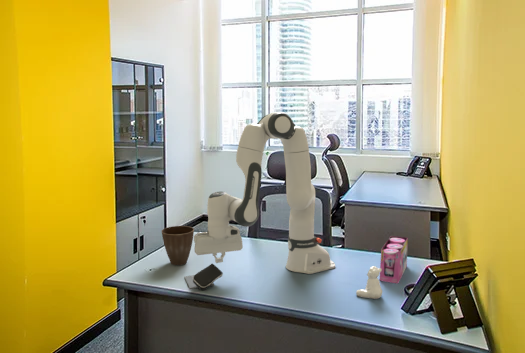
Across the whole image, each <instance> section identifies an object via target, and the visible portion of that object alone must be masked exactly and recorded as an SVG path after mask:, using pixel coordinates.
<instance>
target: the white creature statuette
mask: <svg viewBox="0 0 525 353" xmlns="http://www.w3.org/2000/svg"><path fill="white" fill-rule="evenodd" d="M381 270H382V269H381V268H380V267H377V266H375V265H373V266H371V267H369V269H368V270H367V271H368V272H367V274H366V276H367V277H368V279H367V280H366V285H365V288H364V289H361V288H360V289H357V290H356V291H355V292H356V293H355V295H356V296H357V297H359V298H360V297H361V298H365V299H372V300H377V299H379V298H381V297H382V296H383V289H382V287H381V283H380V279H379V278H378V277H380V272H381Z"/></svg>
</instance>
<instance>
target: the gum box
mask: <svg viewBox="0 0 525 353" xmlns="http://www.w3.org/2000/svg"><path fill="white" fill-rule="evenodd" d="M408 240H409V238H408V237H405V236H398V235H397V236H396V235H390V236H389V238H388V239H387V240H386V242H385V243H384V245H383V246H382V248H381V249H380V265H379V266H380V267H379V268H381V269H382V270H381V272H379V282H380V281H381V282H386V283H391V284H393V283H394V284H399V282H400V281H401V278H402V277H403V275H404V274H405V271H406V269H407V265H408V261H407V260H408V243H409V242H408Z"/></svg>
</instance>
